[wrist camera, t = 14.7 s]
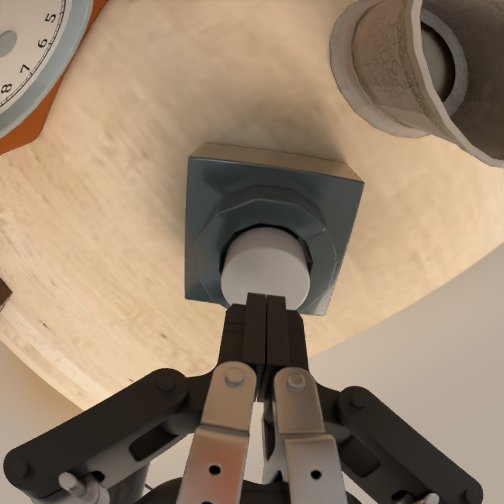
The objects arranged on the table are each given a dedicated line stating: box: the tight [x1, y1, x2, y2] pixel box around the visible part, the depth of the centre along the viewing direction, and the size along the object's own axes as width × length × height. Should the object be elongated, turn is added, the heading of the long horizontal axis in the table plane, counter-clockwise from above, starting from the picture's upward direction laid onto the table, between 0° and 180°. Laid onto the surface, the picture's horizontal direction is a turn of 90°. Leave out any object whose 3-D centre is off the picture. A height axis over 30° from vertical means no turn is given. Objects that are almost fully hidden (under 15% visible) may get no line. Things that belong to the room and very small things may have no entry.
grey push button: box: [221, 227, 310, 310], centre depth 14 cm, size 4×4×2 cm
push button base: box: [185, 143, 365, 316], centre depth 18 cm, size 9×9×6 cm
